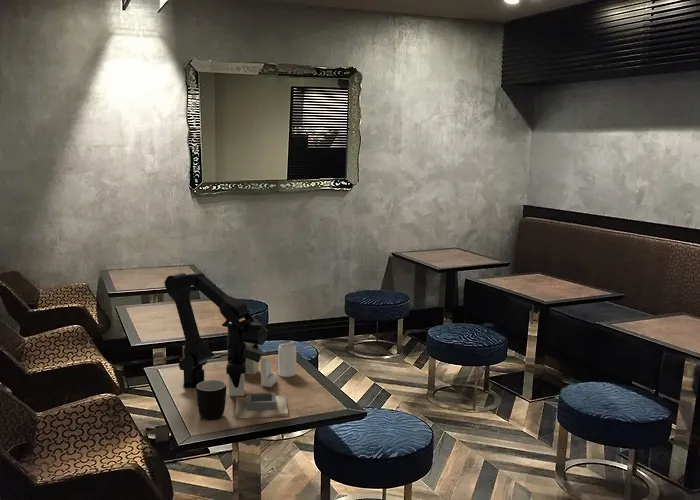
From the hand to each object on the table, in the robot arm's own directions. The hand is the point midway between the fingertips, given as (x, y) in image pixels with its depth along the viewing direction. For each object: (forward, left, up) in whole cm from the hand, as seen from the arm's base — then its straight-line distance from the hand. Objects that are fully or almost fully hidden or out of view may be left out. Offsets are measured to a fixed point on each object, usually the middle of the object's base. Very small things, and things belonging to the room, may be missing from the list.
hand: (236, 384), depth 209 cm
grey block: (0, 0, -3) cm, 3 cm away
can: (+18, +16, -3) cm, 24 cm away
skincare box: (+4, +20, -3) cm, 21 cm away
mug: (-8, -16, -3) cm, 18 cm away
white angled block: (+11, +8, -3) cm, 14 cm away
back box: (+8, -13, -3) cm, 16 cm away
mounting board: (+8, -13, -3) cm, 16 cm away
